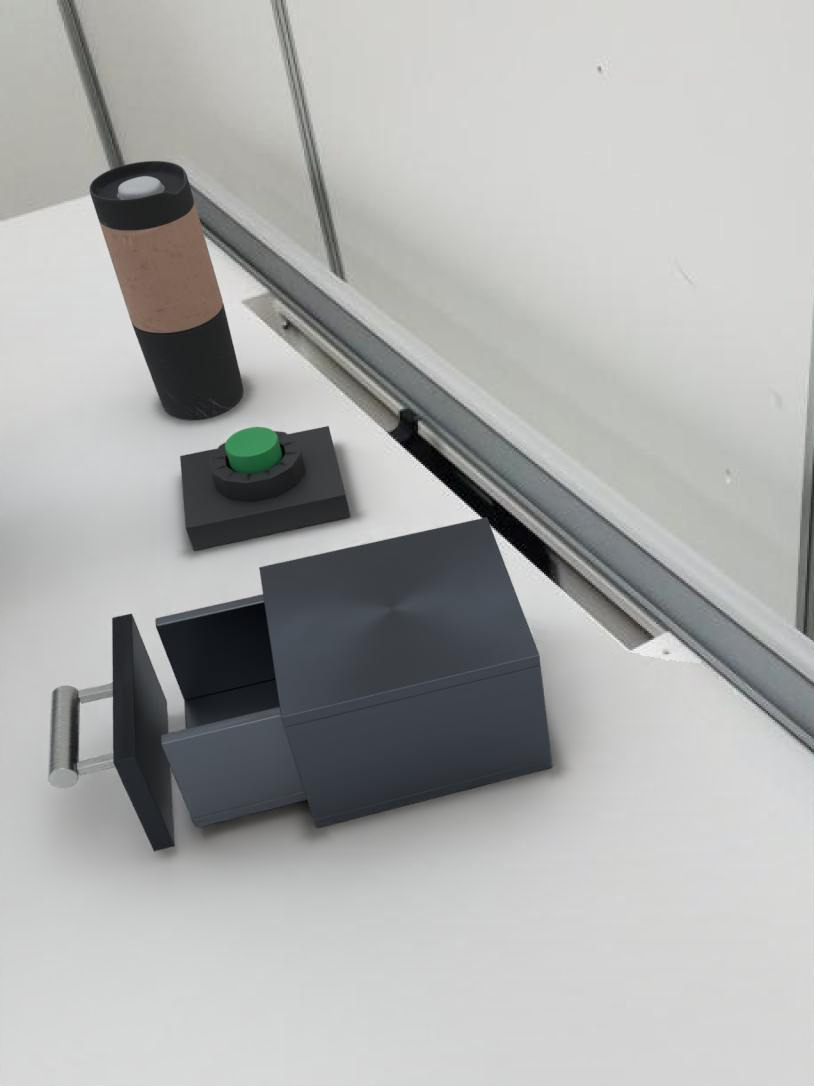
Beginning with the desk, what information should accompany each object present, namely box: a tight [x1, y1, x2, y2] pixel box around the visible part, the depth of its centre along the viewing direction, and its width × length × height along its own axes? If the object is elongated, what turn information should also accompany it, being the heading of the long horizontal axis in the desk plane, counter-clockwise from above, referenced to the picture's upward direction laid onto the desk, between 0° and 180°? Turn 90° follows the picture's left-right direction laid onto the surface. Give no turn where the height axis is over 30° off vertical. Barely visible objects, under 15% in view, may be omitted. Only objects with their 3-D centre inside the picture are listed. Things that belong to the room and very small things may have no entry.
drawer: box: [47, 593, 307, 852], centre depth 77 cm, size 18×12×8 cm
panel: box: [179, 425, 351, 551], centre depth 100 cm, size 12×10×4 cm
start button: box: [225, 426, 282, 473], centre depth 98 cm, size 4×4×2 cm
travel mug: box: [89, 160, 244, 421], centre depth 106 cm, size 8×8×20 cm
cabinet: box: [258, 517, 553, 829], centre depth 79 cm, size 15×14×10 cm
